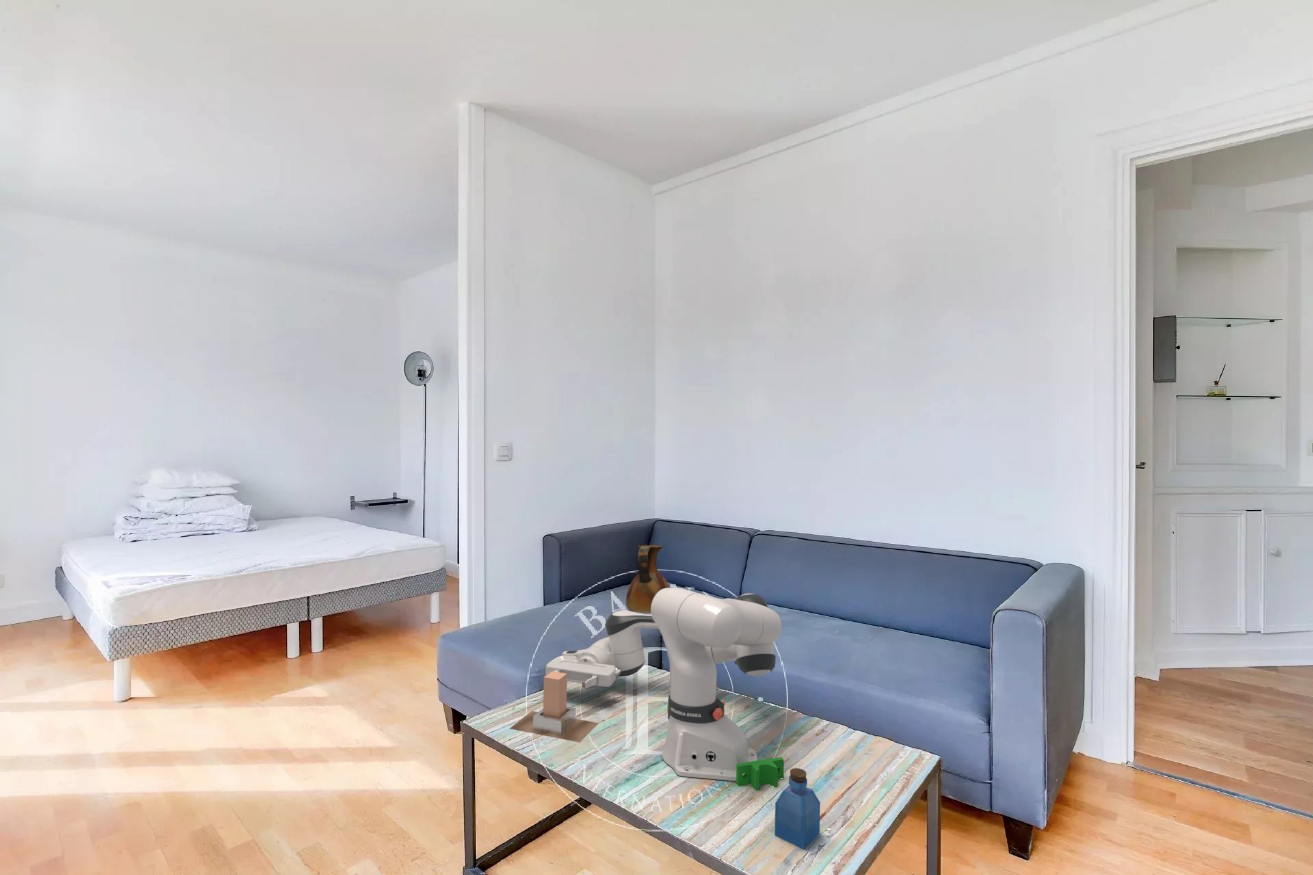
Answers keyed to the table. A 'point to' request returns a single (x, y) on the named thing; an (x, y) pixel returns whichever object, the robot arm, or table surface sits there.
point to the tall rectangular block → (555, 695)
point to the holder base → (572, 733)
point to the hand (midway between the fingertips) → (568, 682)
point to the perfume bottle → (797, 811)
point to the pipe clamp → (760, 772)
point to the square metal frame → (554, 722)
